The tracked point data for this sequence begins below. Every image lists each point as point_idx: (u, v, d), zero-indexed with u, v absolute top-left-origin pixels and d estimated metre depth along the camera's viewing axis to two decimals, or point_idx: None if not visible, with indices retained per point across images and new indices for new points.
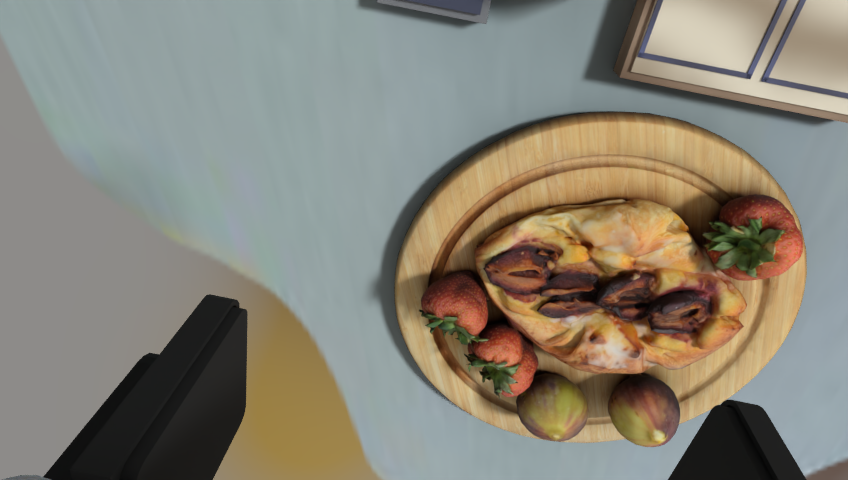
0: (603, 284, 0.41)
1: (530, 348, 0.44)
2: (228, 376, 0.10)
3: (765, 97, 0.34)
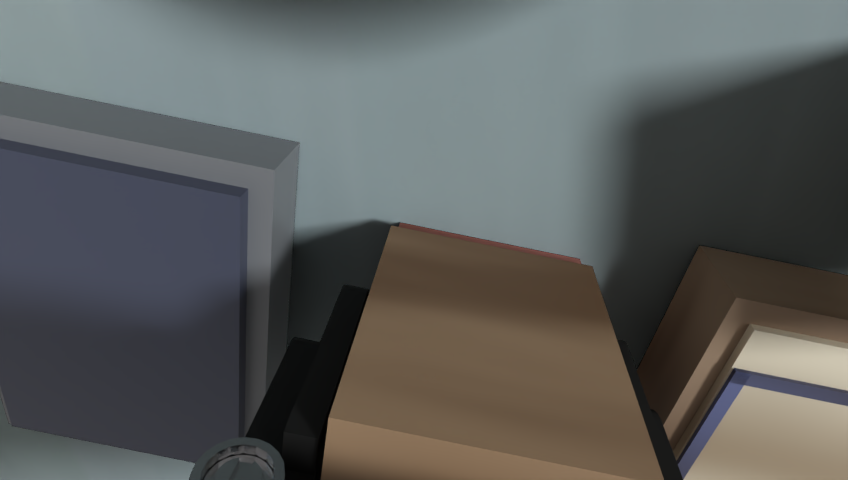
0: None
1: None
2: None
3: None
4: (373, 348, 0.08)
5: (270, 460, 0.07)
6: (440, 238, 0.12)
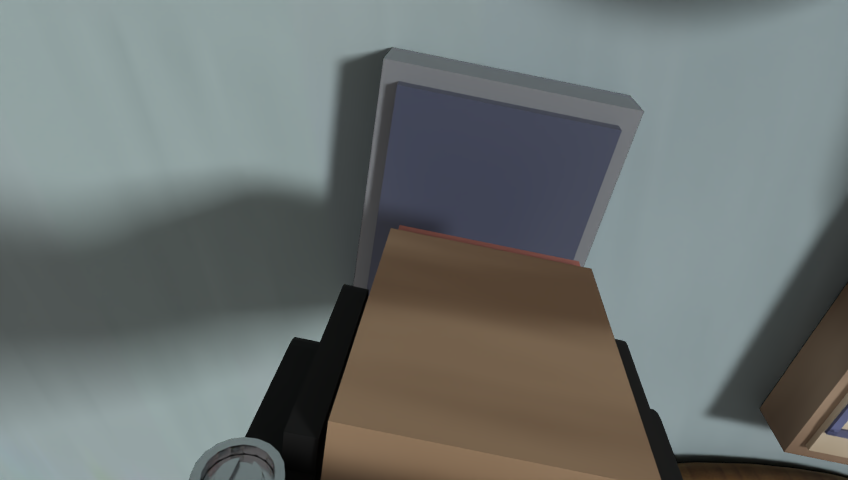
0: None
1: None
2: None
3: None
4: (372, 351, 0.08)
5: (270, 460, 0.07)
6: (439, 240, 0.12)
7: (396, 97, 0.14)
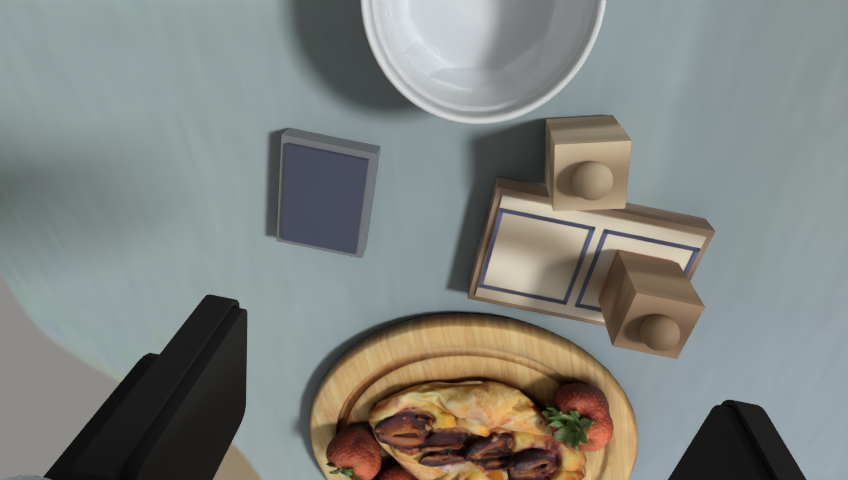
0: (472, 440, 0.50)
1: None
2: (228, 376, 0.10)
3: (580, 316, 0.43)
4: (636, 281, 0.36)
5: None
6: (633, 254, 0.40)
7: (286, 148, 0.39)
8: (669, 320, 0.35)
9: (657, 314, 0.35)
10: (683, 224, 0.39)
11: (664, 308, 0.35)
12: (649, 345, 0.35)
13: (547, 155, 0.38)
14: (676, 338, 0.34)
